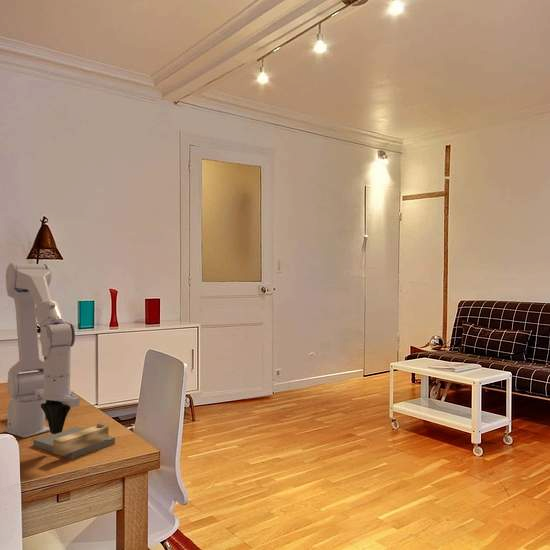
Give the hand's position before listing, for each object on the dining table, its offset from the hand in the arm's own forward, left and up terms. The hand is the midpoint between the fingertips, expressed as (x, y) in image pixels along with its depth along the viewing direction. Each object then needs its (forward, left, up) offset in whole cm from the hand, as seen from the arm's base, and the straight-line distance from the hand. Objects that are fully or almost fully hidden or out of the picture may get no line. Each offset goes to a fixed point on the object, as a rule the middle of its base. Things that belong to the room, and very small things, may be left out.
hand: (56, 432), depth 118 cm
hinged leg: (+6, +3, -3) cm, 7 cm away
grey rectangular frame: (0, +5, -4) cm, 7 cm away
